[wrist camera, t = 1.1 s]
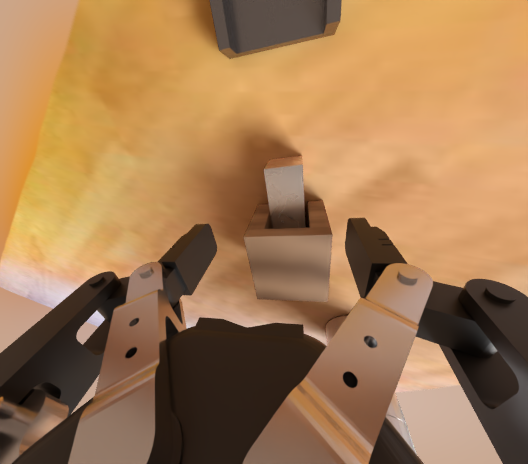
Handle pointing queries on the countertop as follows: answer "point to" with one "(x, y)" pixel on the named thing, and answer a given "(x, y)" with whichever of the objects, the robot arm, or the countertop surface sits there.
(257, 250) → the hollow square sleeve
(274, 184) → the shiny metal block
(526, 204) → the countertop surface
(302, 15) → the grey channel block
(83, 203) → the countertop surface
